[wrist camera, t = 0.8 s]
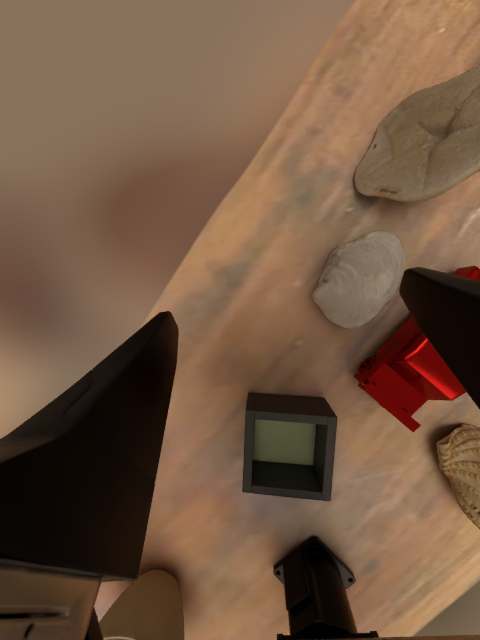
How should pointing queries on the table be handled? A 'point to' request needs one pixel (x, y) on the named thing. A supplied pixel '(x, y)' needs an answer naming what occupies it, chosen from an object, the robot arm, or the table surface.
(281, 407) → the holder
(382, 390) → the toy car
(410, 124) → the stone
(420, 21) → the table surface
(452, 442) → the seashell
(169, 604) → the tan cup
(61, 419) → the robot arm
